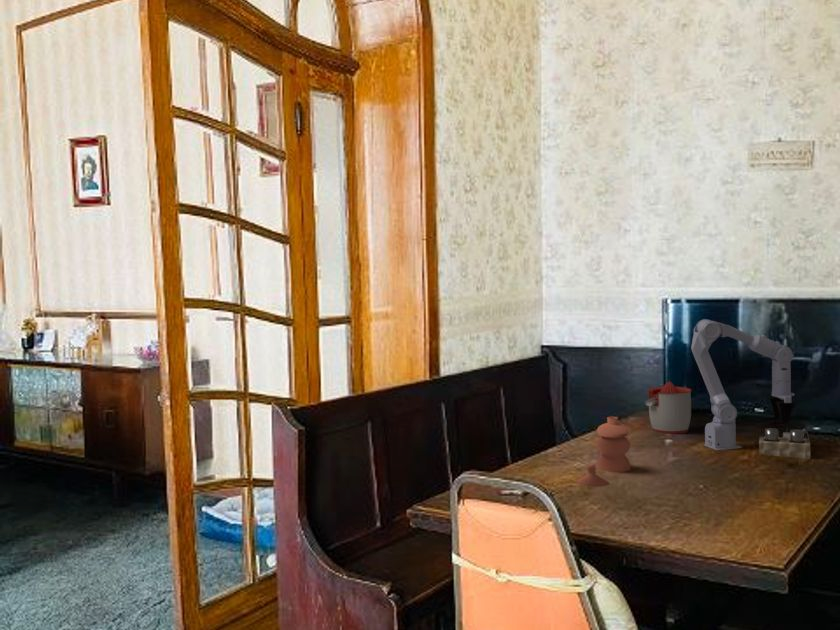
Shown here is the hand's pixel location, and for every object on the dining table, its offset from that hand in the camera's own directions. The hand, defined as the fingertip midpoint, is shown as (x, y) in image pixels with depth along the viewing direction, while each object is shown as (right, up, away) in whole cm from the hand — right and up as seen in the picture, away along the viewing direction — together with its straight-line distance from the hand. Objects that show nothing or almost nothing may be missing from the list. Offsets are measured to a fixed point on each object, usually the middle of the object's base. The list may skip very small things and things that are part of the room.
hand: (781, 420), depth 264 cm
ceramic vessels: (-70, -15, -37) cm, 81 cm away
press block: (-2, -11, -7) cm, 13 cm away
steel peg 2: (+1, -7, -9) cm, 12 cm away
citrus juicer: (-29, -10, +30) cm, 43 cm away
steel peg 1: (-6, -7, -6) cm, 11 cm away
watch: (+7, -7, +6) cm, 11 cm away
